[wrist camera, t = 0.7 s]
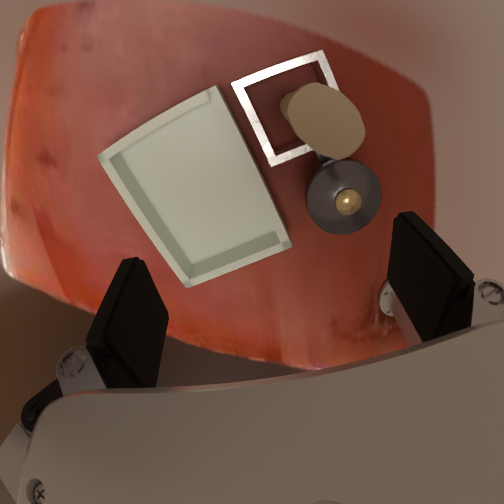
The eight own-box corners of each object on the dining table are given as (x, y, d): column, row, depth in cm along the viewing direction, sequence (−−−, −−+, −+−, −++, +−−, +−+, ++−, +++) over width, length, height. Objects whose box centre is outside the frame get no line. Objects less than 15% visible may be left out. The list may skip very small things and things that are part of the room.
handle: (284, 75, 29) (318, 70, 17) (323, 109, 32) (376, 129, 19) (259, 103, 31) (274, 116, 19) (298, 135, 34) (335, 171, 21)
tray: (287, 229, 41) (292, 246, 37) (190, 269, 44) (186, 288, 40) (218, 85, 30) (215, 85, 26) (110, 147, 33) (96, 156, 29)
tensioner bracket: (365, 195, 39) (390, 221, 32) (295, 223, 41) (307, 255, 34) (315, 52, 28) (336, 45, 21) (231, 83, 30) (229, 83, 23)
